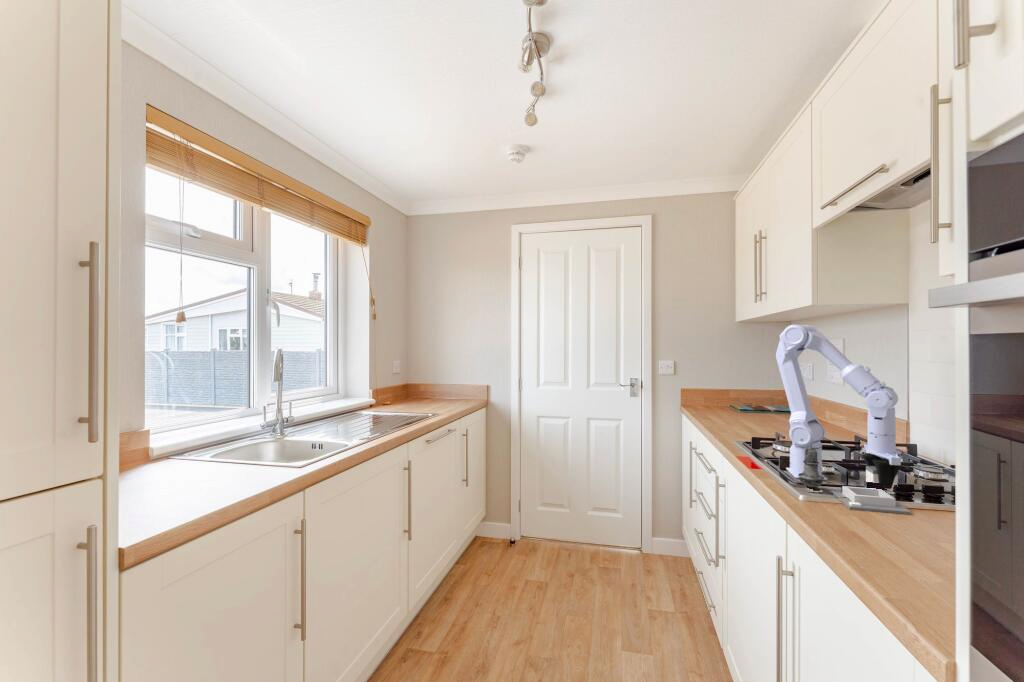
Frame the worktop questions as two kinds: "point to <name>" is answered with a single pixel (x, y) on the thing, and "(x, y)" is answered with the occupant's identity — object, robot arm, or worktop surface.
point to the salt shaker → (811, 470)
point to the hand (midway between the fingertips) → (881, 485)
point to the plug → (876, 476)
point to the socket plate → (870, 500)
